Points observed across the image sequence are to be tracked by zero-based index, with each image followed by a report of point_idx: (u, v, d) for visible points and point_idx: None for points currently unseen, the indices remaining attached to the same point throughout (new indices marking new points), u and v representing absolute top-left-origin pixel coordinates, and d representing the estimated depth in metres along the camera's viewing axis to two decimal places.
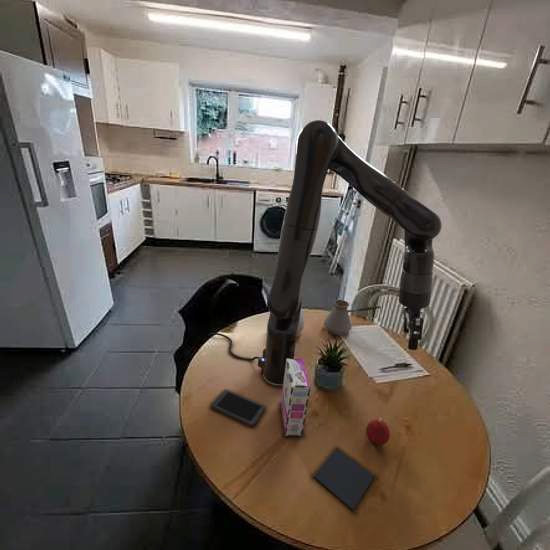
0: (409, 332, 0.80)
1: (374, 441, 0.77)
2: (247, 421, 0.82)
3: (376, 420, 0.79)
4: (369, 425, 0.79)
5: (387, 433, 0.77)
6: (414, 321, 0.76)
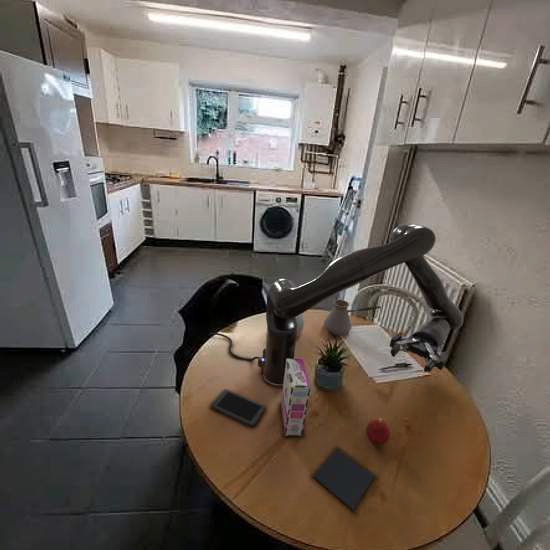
0: (433, 357, 0.81)
1: (374, 441, 0.77)
2: (247, 421, 0.82)
3: (376, 420, 0.79)
4: (369, 425, 0.79)
5: (387, 433, 0.77)
6: None
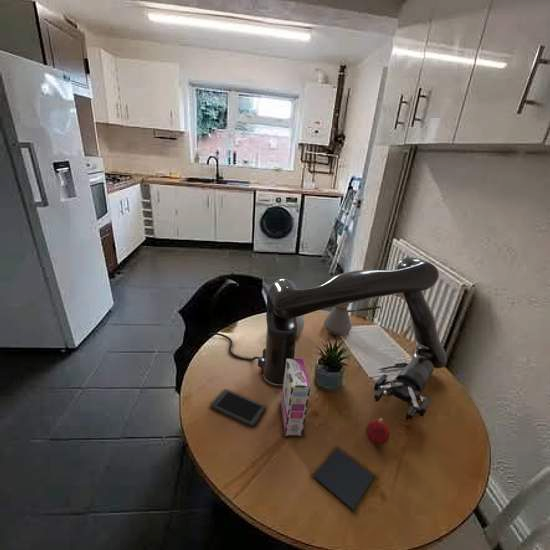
0: (415, 403, 0.84)
1: (374, 441, 0.77)
2: (247, 421, 0.82)
3: (376, 420, 0.79)
4: (369, 425, 0.79)
5: (387, 433, 0.77)
6: (429, 400, 0.86)
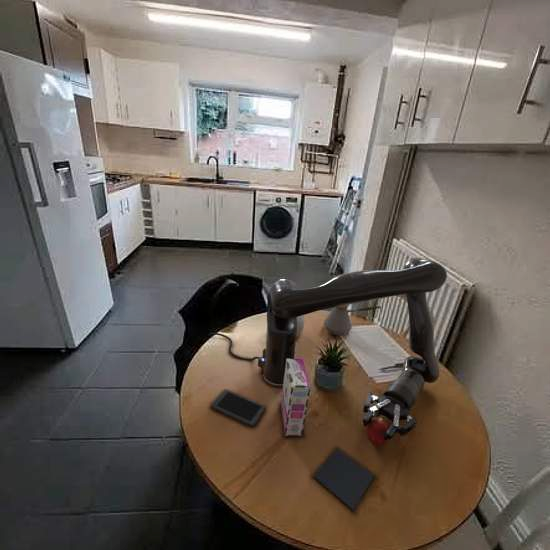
0: (396, 422, 0.77)
1: (374, 441, 0.77)
2: (247, 421, 0.82)
3: (376, 420, 0.79)
4: (369, 425, 0.79)
5: None
6: (416, 422, 0.78)
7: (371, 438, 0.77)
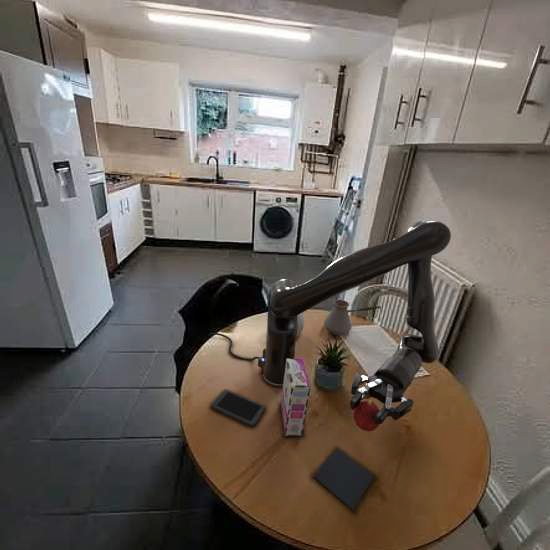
0: (389, 404, 0.66)
1: (362, 426, 0.66)
2: (247, 421, 0.82)
3: (365, 402, 0.68)
4: (357, 408, 0.68)
5: None
6: (412, 404, 0.67)
7: (359, 423, 0.66)
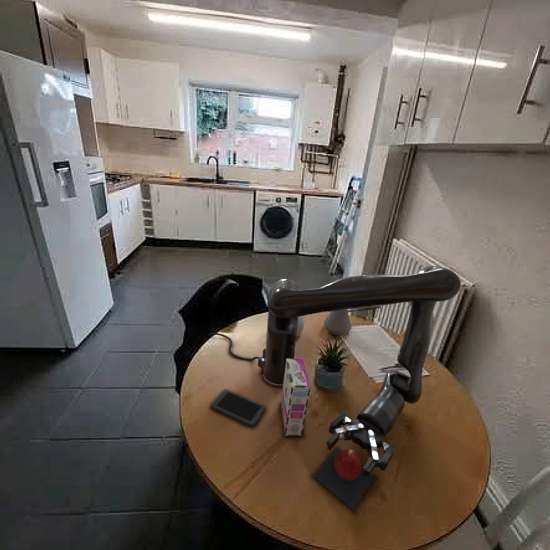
0: (375, 454, 0.68)
1: (343, 476, 0.68)
2: (247, 421, 0.82)
3: (346, 451, 0.69)
4: (338, 457, 0.69)
5: (357, 467, 0.67)
6: None
7: (340, 473, 0.68)
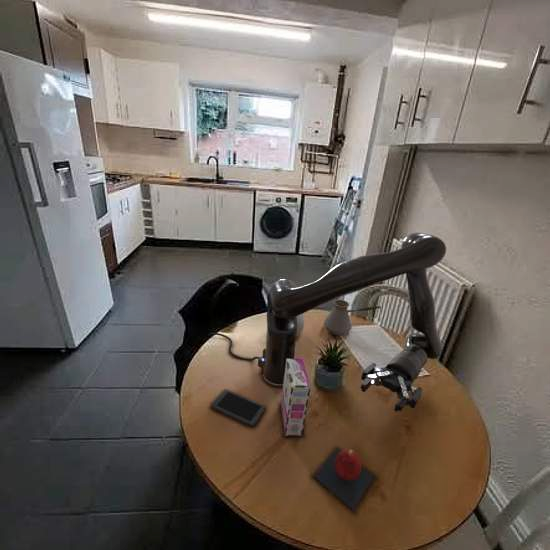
0: (406, 394, 0.76)
1: (343, 476, 0.68)
2: (247, 421, 0.82)
3: (346, 451, 0.69)
4: (338, 457, 0.69)
5: (357, 467, 0.67)
6: (421, 391, 0.78)
7: (340, 473, 0.68)
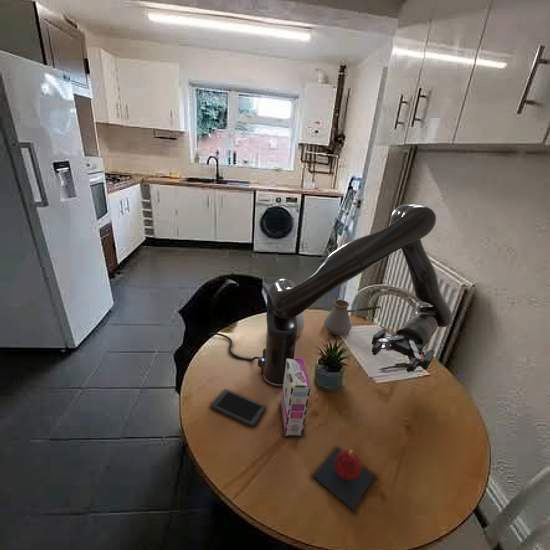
0: (418, 355, 0.75)
1: (343, 476, 0.68)
2: (247, 421, 0.82)
3: (346, 451, 0.69)
4: (338, 457, 0.69)
5: (357, 467, 0.67)
6: (433, 353, 0.76)
7: (340, 473, 0.68)
